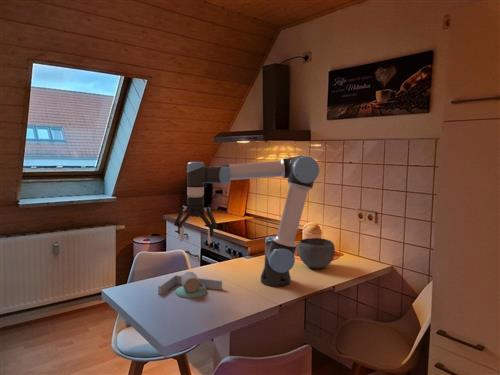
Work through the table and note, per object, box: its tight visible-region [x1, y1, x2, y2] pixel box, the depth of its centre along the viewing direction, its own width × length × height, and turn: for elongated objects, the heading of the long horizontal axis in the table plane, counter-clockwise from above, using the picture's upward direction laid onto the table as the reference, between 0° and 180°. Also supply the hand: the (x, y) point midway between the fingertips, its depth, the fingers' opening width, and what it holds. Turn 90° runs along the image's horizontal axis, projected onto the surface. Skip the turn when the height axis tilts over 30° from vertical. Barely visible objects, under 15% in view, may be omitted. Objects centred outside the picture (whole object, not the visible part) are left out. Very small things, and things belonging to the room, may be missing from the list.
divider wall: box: [174, 274, 223, 291], centre depth 181 cm, size 24×1×4 cm, turn 75°
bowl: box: [297, 237, 336, 270], centre depth 216 cm, size 21×21×15 cm
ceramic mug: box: [180, 271, 205, 293], centre depth 173 cm, size 11×8×8 cm
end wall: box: [157, 274, 177, 296], centre depth 176 cm, size 1×15×4 cm, turn 165°
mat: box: [175, 286, 207, 299], centre depth 173 cm, size 14×14×1 cm
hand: (195, 242), depth 173 cm, fingers open, 13 cm apart
